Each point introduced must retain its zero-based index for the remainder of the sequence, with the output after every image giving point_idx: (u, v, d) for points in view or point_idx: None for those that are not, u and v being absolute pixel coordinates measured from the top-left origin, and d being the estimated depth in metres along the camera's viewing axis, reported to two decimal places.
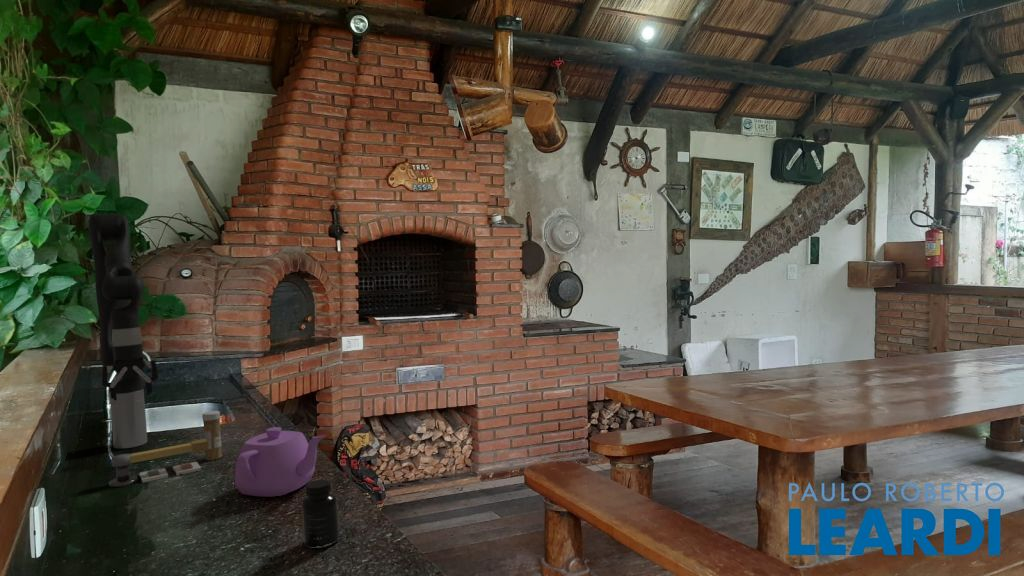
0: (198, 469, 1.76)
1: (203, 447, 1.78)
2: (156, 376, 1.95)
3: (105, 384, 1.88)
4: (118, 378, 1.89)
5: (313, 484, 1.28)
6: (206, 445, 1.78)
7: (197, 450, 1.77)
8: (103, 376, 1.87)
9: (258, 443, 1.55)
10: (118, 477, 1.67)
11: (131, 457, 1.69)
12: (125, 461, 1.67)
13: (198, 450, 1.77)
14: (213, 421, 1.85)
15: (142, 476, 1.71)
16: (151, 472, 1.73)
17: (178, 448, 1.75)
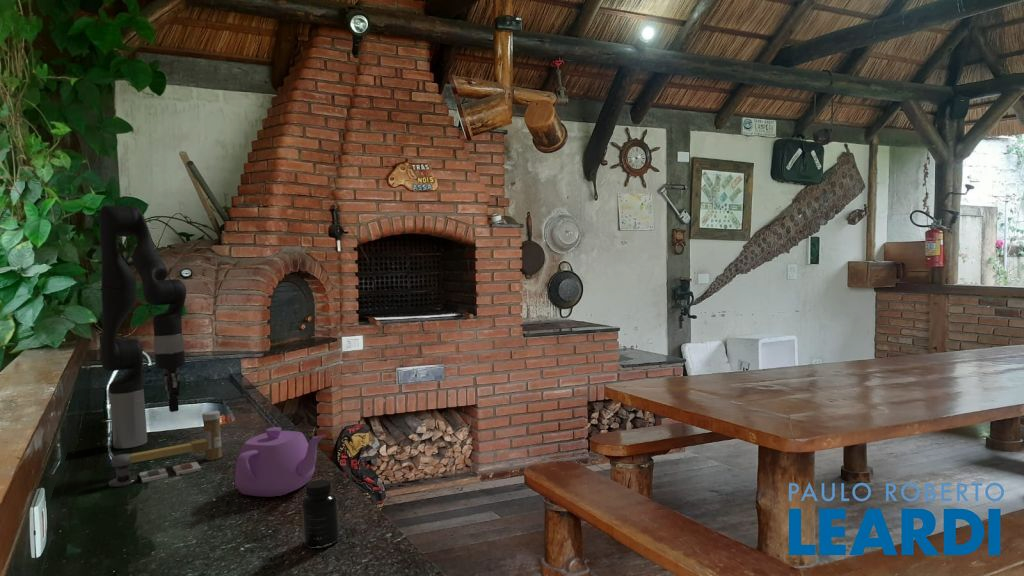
0: (198, 469, 1.76)
1: (203, 447, 1.78)
2: None
3: None
4: None
5: (313, 484, 1.28)
6: (206, 445, 1.78)
7: (197, 450, 1.77)
8: None
9: (258, 443, 1.55)
10: (118, 477, 1.67)
11: (131, 457, 1.69)
12: (125, 461, 1.67)
13: (198, 450, 1.77)
14: (213, 421, 1.85)
15: (142, 476, 1.71)
16: (151, 472, 1.73)
17: (178, 448, 1.75)
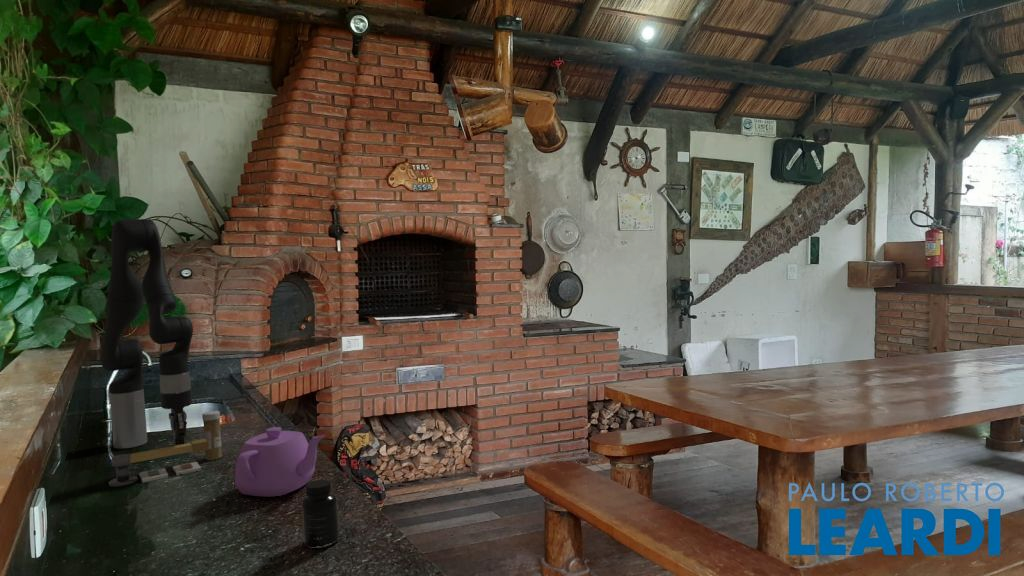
0: (198, 469, 1.76)
1: (203, 447, 1.78)
2: None
3: None
4: None
5: (313, 484, 1.28)
6: (206, 445, 1.78)
7: (197, 450, 1.77)
8: (185, 429, 1.76)
9: (258, 443, 1.55)
10: (118, 477, 1.67)
11: (131, 457, 1.69)
12: (125, 461, 1.67)
13: (198, 450, 1.77)
14: (213, 421, 1.85)
15: (142, 476, 1.71)
16: (151, 472, 1.73)
17: (178, 448, 1.75)
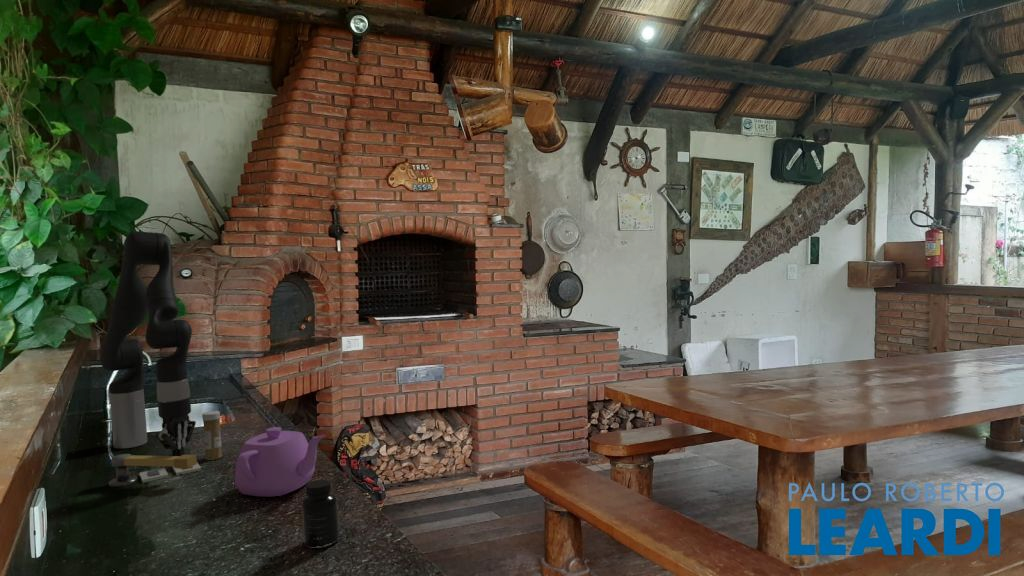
0: (198, 469, 1.76)
1: (183, 465, 1.63)
2: (189, 439, 1.72)
3: (175, 446, 1.66)
4: (180, 437, 1.68)
5: (313, 484, 1.28)
6: (186, 463, 1.63)
7: (178, 466, 1.64)
8: (169, 442, 1.64)
9: (258, 443, 1.55)
10: (118, 477, 1.67)
11: (125, 459, 1.67)
12: (117, 462, 1.66)
13: (179, 466, 1.64)
14: (213, 421, 1.85)
15: (142, 476, 1.71)
16: (151, 472, 1.73)
17: (163, 460, 1.65)
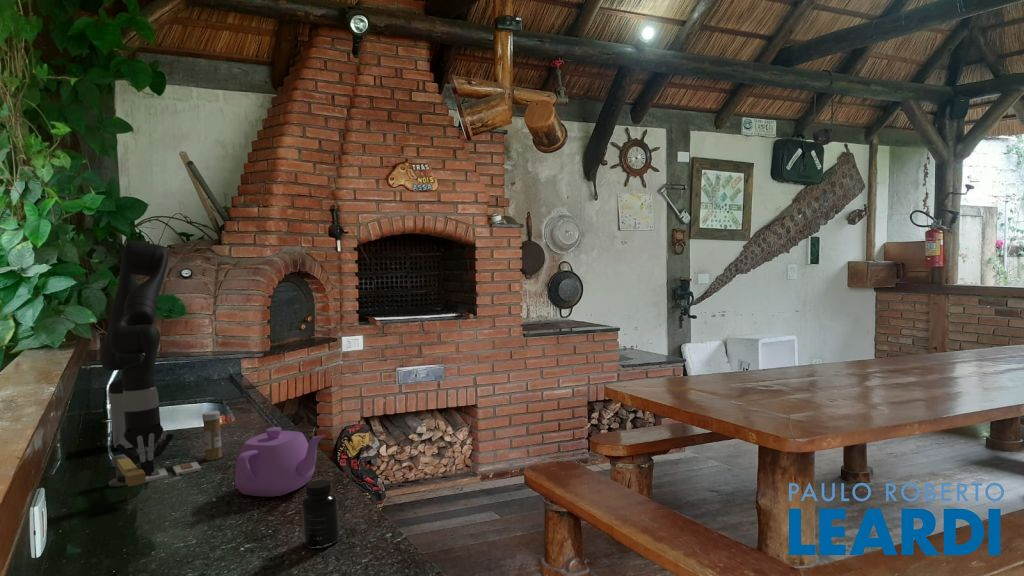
0: (198, 469, 1.76)
1: (127, 481, 1.53)
2: (160, 452, 1.60)
3: (135, 458, 1.57)
4: (142, 450, 1.57)
5: (313, 484, 1.28)
6: (127, 480, 1.52)
7: (126, 482, 1.54)
8: (125, 454, 1.56)
9: (258, 443, 1.55)
10: (118, 477, 1.67)
11: (117, 461, 1.66)
12: (112, 462, 1.67)
13: (126, 482, 1.54)
14: (213, 421, 1.85)
15: None
16: None
17: (125, 471, 1.57)
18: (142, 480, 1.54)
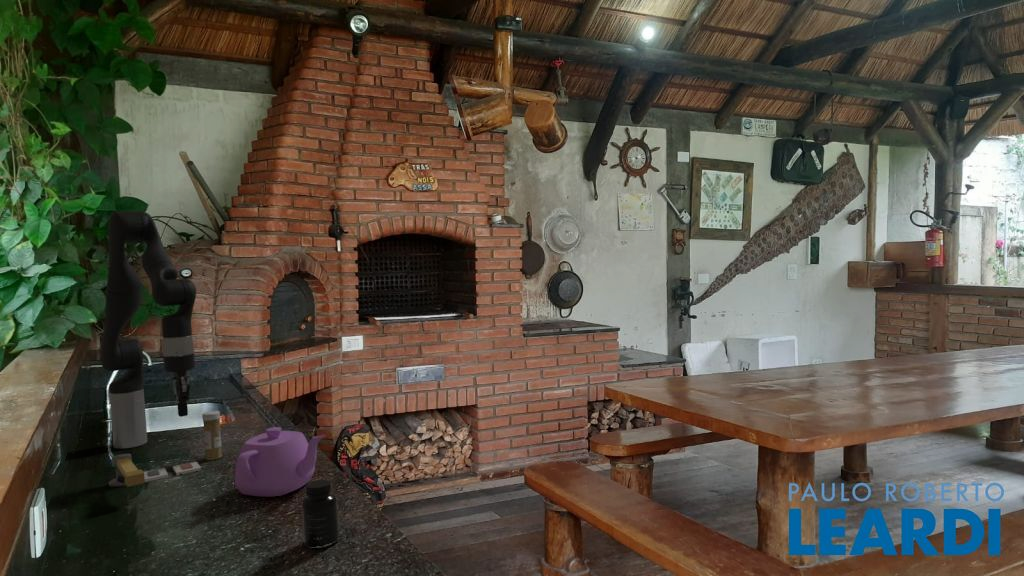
0: (198, 469, 1.76)
1: (126, 482, 1.52)
2: None
3: None
4: None
5: (313, 484, 1.28)
6: (126, 481, 1.52)
7: (125, 482, 1.54)
8: (188, 393, 1.73)
9: (258, 443, 1.55)
10: (118, 477, 1.67)
11: (117, 461, 1.66)
12: (112, 462, 1.67)
13: (125, 482, 1.53)
14: (213, 421, 1.85)
15: None
16: (151, 472, 1.73)
17: (124, 471, 1.57)
18: (141, 480, 1.53)
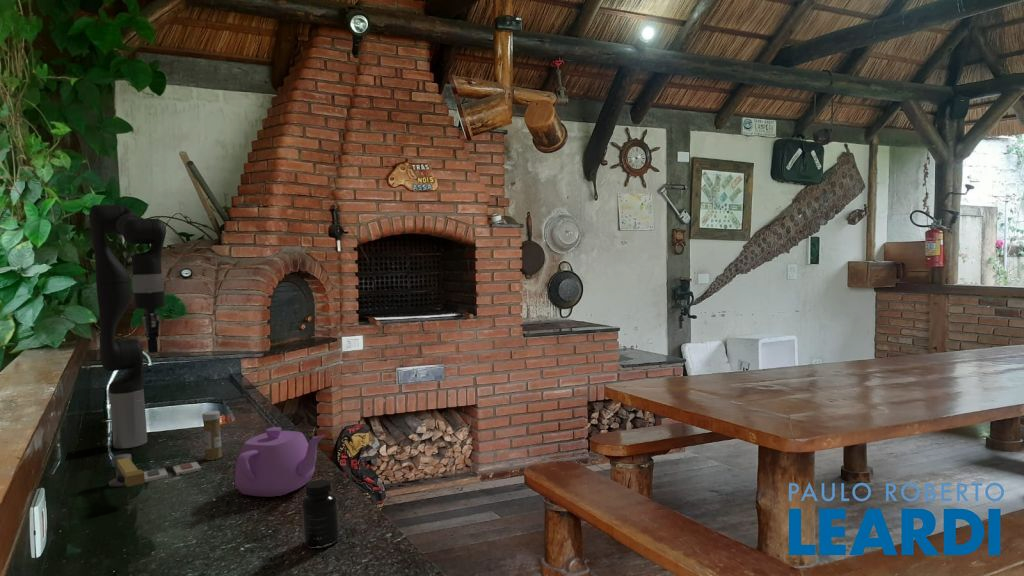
0: (198, 469, 1.76)
1: (126, 482, 1.52)
2: None
3: None
4: None
5: (313, 484, 1.28)
6: (126, 481, 1.52)
7: (125, 482, 1.54)
8: (158, 329, 1.78)
9: (258, 443, 1.55)
10: (118, 477, 1.67)
11: (117, 461, 1.66)
12: (112, 462, 1.67)
13: (125, 482, 1.53)
14: (213, 421, 1.85)
15: None
16: (151, 472, 1.73)
17: (124, 471, 1.57)
18: (141, 480, 1.53)
